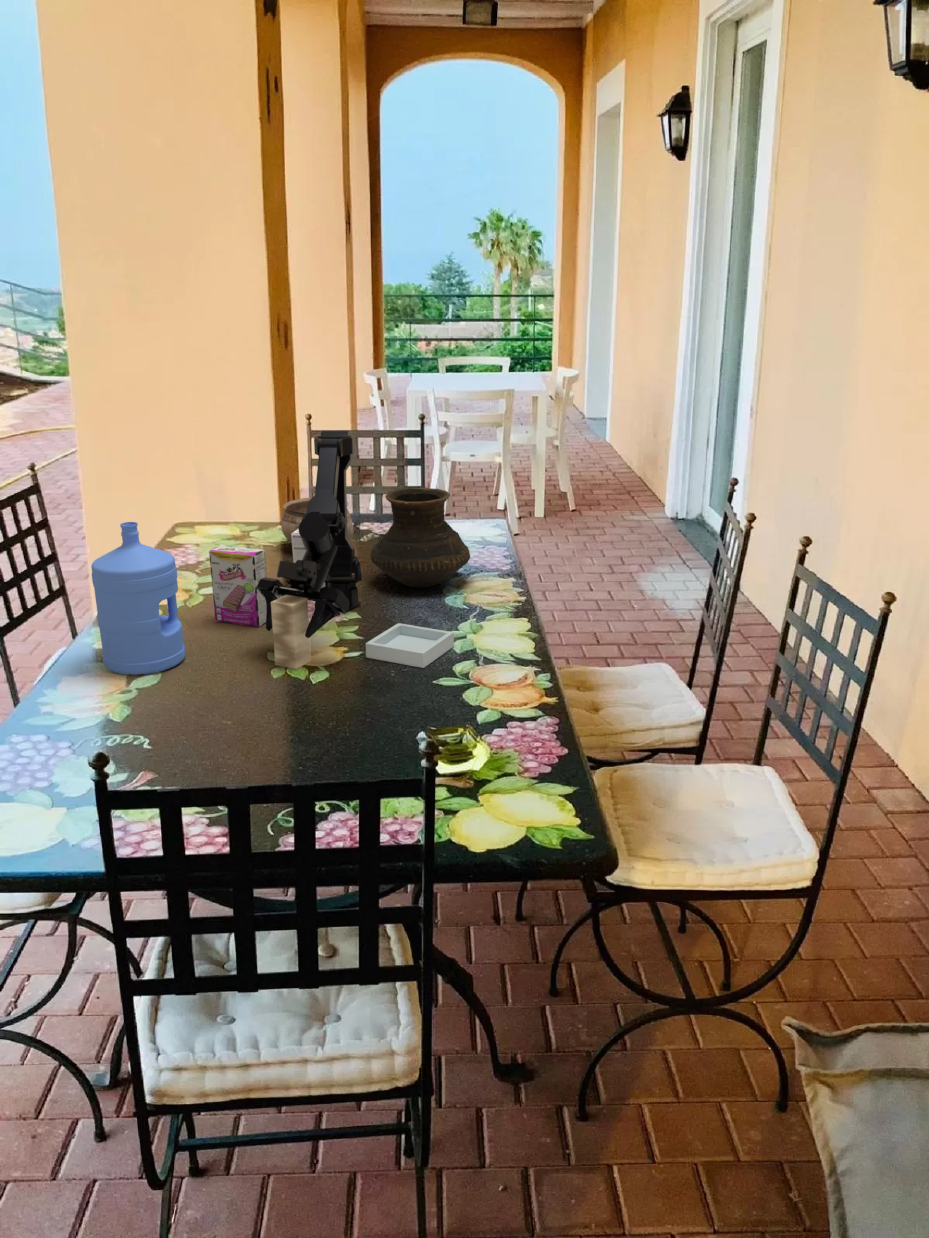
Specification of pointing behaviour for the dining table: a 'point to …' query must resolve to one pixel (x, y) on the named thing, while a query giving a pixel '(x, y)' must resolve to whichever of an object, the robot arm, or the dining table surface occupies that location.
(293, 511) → the cooking pot
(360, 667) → the dining table surface
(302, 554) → the syrup box
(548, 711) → the dining table surface
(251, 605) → the candy bar box
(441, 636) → the tray
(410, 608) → the dining table surface
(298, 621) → the birch block
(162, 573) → the water jug
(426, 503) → the ceramic pot
